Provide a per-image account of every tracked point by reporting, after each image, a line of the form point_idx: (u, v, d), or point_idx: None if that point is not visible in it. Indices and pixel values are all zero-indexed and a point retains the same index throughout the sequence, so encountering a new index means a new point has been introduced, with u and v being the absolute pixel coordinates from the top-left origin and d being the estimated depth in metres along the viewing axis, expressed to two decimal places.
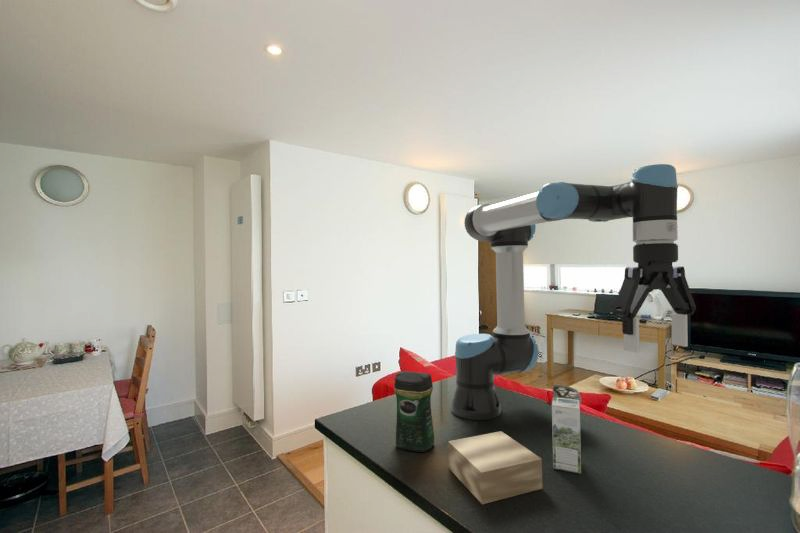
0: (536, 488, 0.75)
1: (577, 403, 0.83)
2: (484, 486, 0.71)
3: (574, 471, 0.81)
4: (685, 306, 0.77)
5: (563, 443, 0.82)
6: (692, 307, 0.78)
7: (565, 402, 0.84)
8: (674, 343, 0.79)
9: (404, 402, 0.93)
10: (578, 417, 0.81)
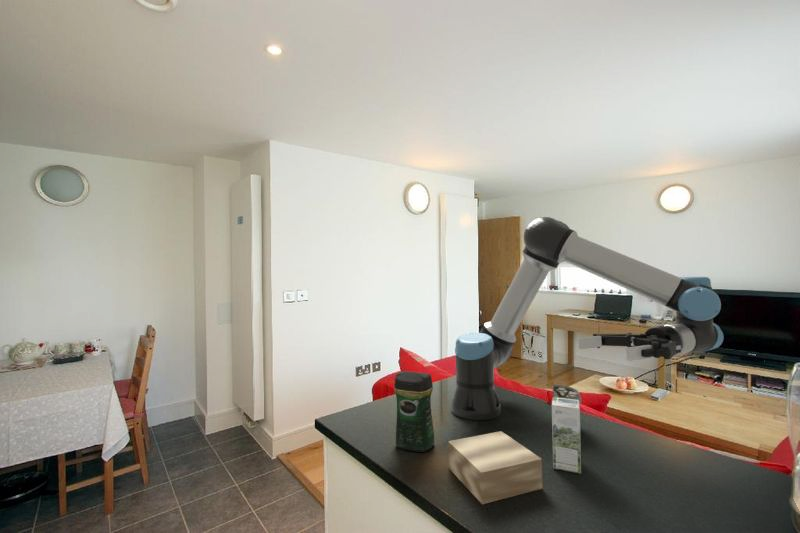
0: (536, 488, 0.75)
1: (577, 403, 0.83)
2: (484, 486, 0.71)
3: (574, 471, 0.81)
4: None
5: (563, 443, 0.82)
6: None
7: (565, 402, 0.84)
8: (582, 340, 0.94)
9: (404, 402, 0.93)
10: (578, 417, 0.81)
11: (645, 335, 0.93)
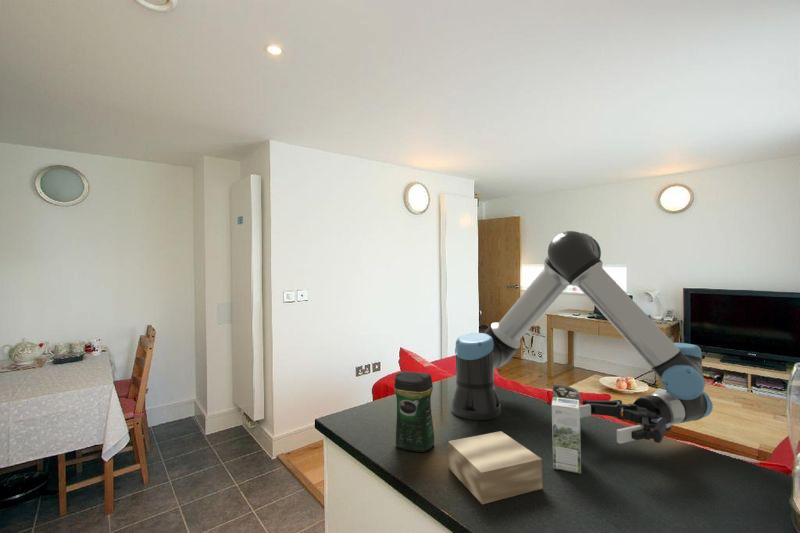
0: (536, 488, 0.75)
1: (577, 403, 0.83)
2: (484, 486, 0.71)
3: (574, 471, 0.81)
4: None
5: (563, 443, 0.82)
6: None
7: (565, 402, 0.84)
8: None
9: (404, 402, 0.93)
10: (578, 417, 0.81)
11: (635, 406, 0.92)
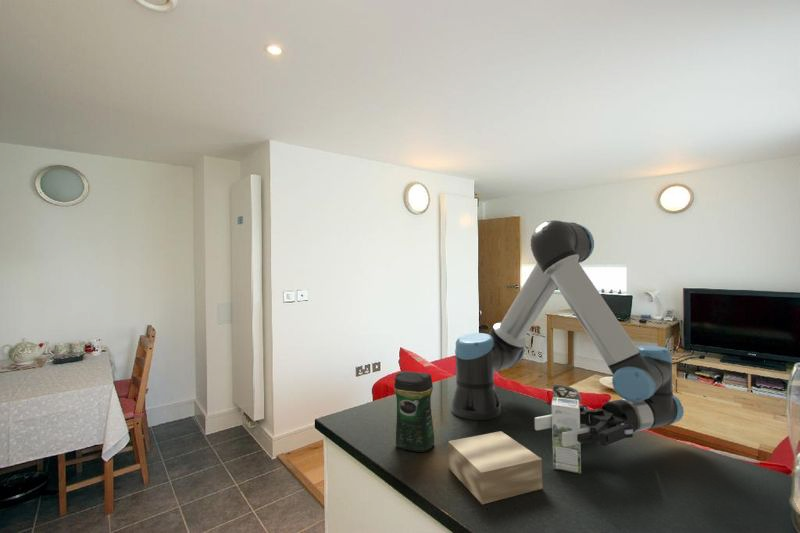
0: (536, 488, 0.75)
1: (577, 403, 0.83)
2: (484, 486, 0.71)
3: (574, 471, 0.81)
4: None
5: None
6: None
7: (565, 402, 0.84)
8: (537, 421, 0.86)
9: (404, 402, 0.93)
10: (578, 417, 0.81)
11: (602, 411, 0.89)
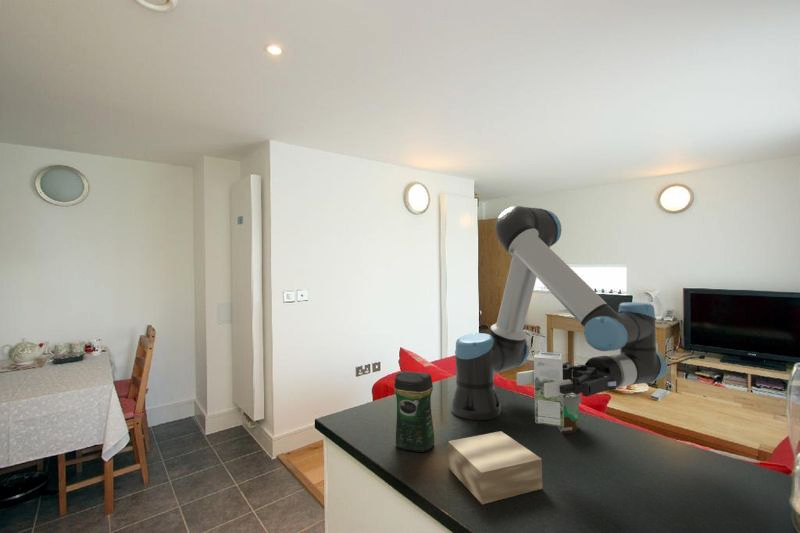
0: (536, 488, 0.75)
1: (560, 355, 0.80)
2: (484, 486, 0.71)
3: (556, 424, 0.79)
4: None
5: None
6: None
7: (547, 355, 0.81)
8: (519, 376, 0.84)
9: (404, 402, 0.93)
10: (560, 368, 0.78)
11: (585, 367, 0.86)
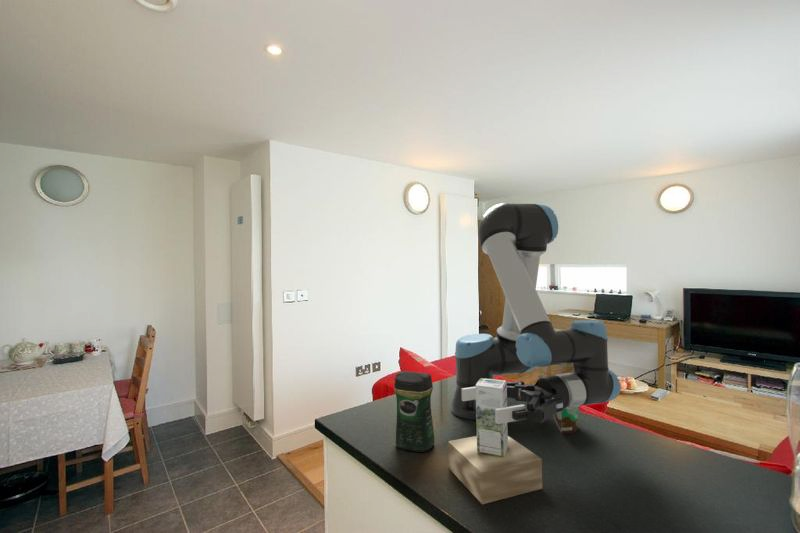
0: (536, 488, 0.75)
1: (502, 383, 0.79)
2: (484, 486, 0.71)
3: (497, 454, 0.77)
4: None
5: (486, 425, 0.78)
6: None
7: (490, 383, 0.79)
8: (464, 391, 0.85)
9: (404, 402, 0.93)
10: (501, 397, 0.76)
11: (532, 387, 0.85)
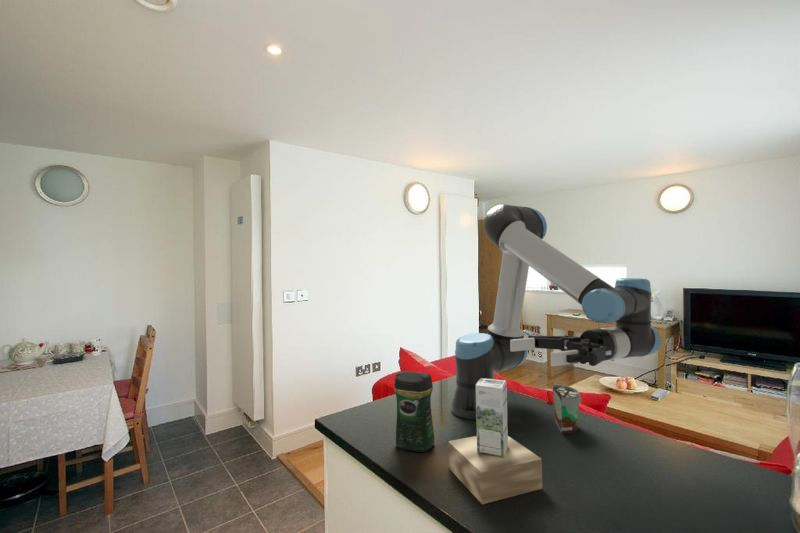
0: (536, 488, 0.75)
1: (502, 383, 0.79)
2: (484, 486, 0.71)
3: (497, 454, 0.77)
4: None
5: (486, 425, 0.78)
6: None
7: (490, 383, 0.79)
8: (513, 342, 0.89)
9: (404, 402, 0.93)
10: (501, 397, 0.76)
11: (579, 338, 0.89)
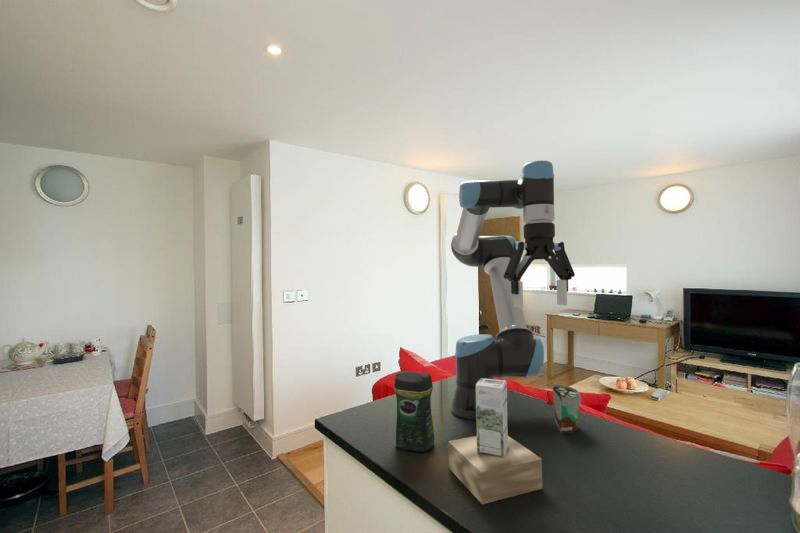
0: (536, 488, 0.75)
1: (502, 383, 0.79)
2: (484, 486, 0.71)
3: (497, 454, 0.77)
4: (565, 273, 0.97)
5: (486, 425, 0.78)
6: (571, 274, 0.98)
7: (490, 383, 0.79)
8: (558, 303, 0.99)
9: (404, 402, 0.93)
10: (501, 397, 0.76)
11: None
